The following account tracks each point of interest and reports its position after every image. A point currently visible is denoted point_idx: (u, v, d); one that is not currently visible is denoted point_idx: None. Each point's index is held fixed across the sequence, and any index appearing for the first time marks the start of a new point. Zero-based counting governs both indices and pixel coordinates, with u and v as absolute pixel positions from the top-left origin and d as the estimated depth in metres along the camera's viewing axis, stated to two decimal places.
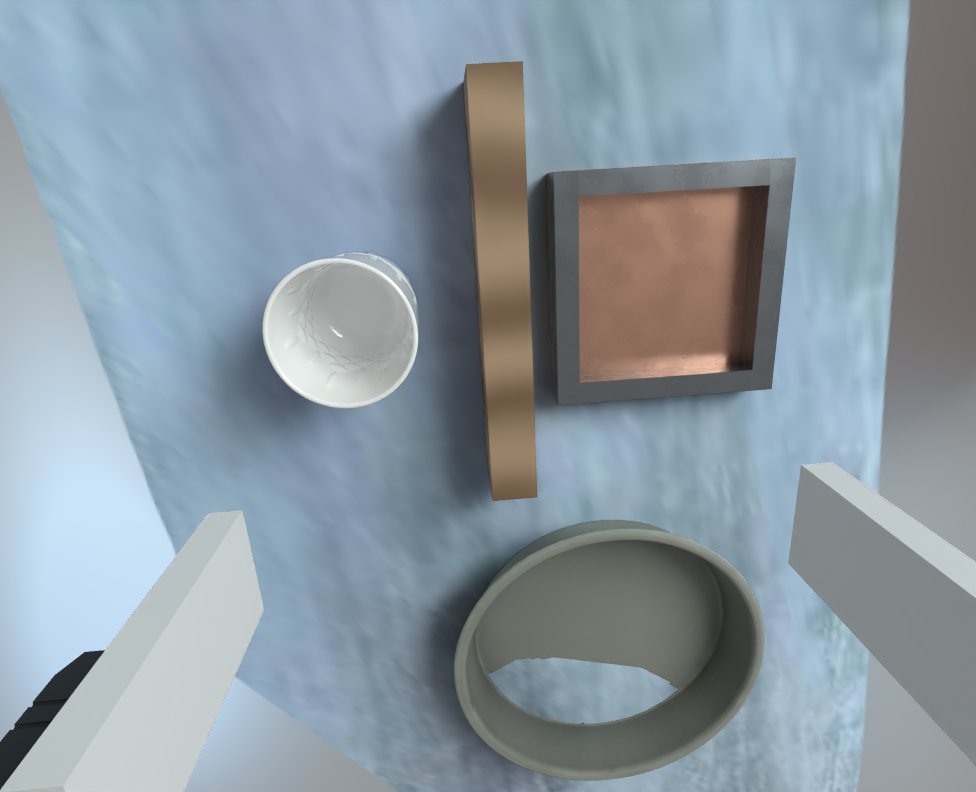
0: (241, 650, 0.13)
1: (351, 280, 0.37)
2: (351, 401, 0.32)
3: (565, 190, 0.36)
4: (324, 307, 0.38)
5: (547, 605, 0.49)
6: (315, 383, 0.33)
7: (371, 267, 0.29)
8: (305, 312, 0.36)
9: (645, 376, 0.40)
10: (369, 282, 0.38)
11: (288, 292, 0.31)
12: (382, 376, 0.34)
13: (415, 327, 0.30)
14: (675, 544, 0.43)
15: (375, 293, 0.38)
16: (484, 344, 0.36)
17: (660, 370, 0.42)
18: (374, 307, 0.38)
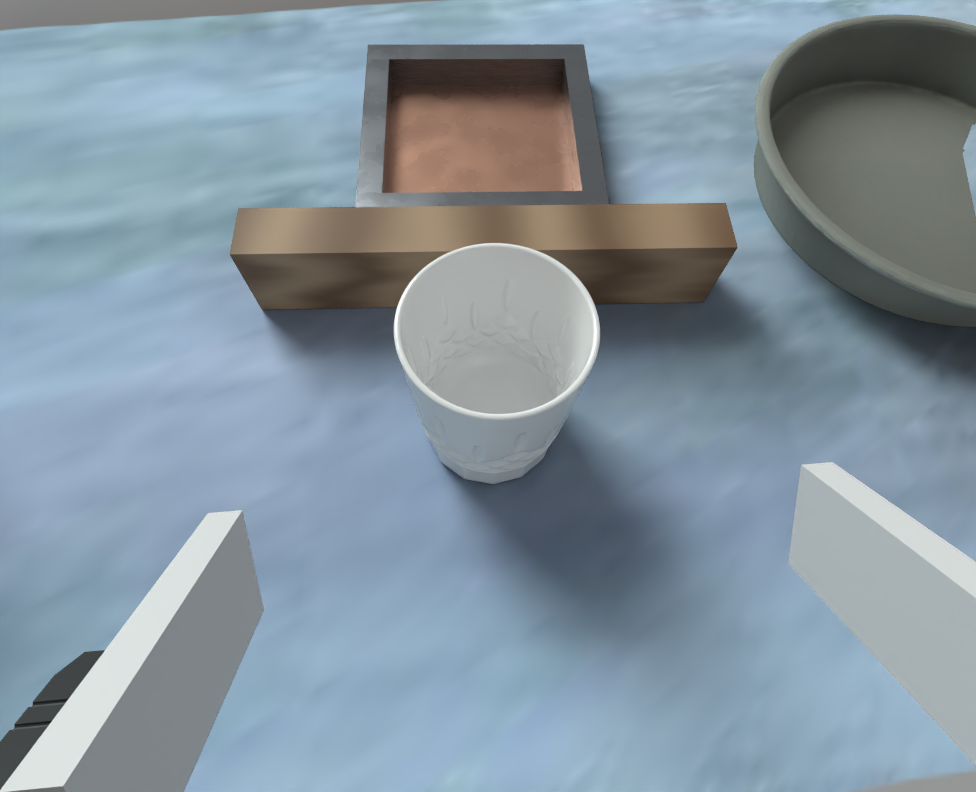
0: (241, 650, 0.13)
1: None
2: (591, 326, 0.23)
3: (374, 203, 0.35)
4: None
5: (892, 243, 0.37)
6: None
7: (409, 283, 0.23)
8: None
9: (574, 139, 0.38)
10: (460, 400, 0.30)
11: None
12: (564, 326, 0.26)
13: (488, 244, 0.24)
14: (769, 89, 0.37)
15: (474, 394, 0.30)
16: None
17: (569, 137, 0.39)
18: (491, 397, 0.30)
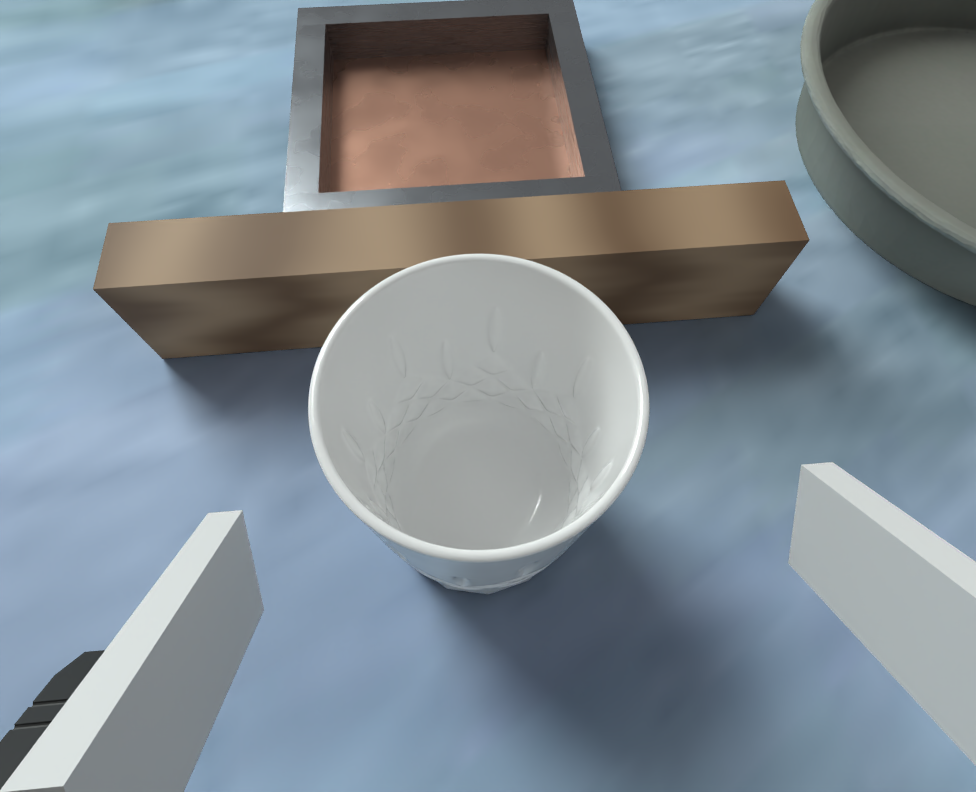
0: (241, 650, 0.13)
1: (431, 507, 0.21)
2: (632, 381, 0.14)
3: (308, 207, 0.26)
4: None
5: None
6: (605, 483, 0.14)
7: (334, 327, 0.14)
8: None
9: (568, 112, 0.29)
10: (435, 476, 0.21)
11: None
12: (582, 373, 0.17)
13: (458, 256, 0.15)
14: (817, 33, 0.29)
15: (454, 467, 0.21)
16: None
17: (561, 111, 0.31)
18: (479, 470, 0.21)
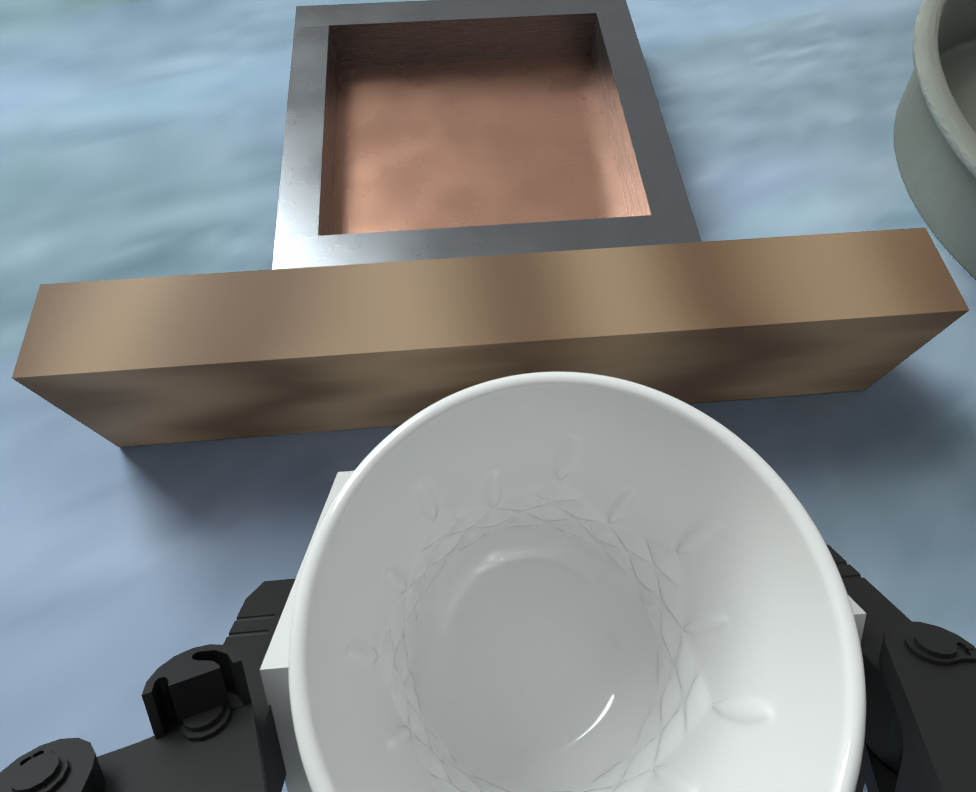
0: None
1: (465, 676, 0.15)
2: (820, 599, 0.09)
3: (305, 255, 0.20)
4: (535, 756, 0.14)
5: None
6: (770, 759, 0.09)
7: (334, 501, 0.09)
8: None
9: (625, 133, 0.24)
10: (470, 629, 0.16)
11: None
12: (701, 535, 0.11)
13: (528, 376, 0.10)
14: (934, 37, 0.23)
15: (496, 615, 0.16)
16: (587, 334, 0.16)
17: (613, 131, 0.25)
18: (529, 620, 0.16)
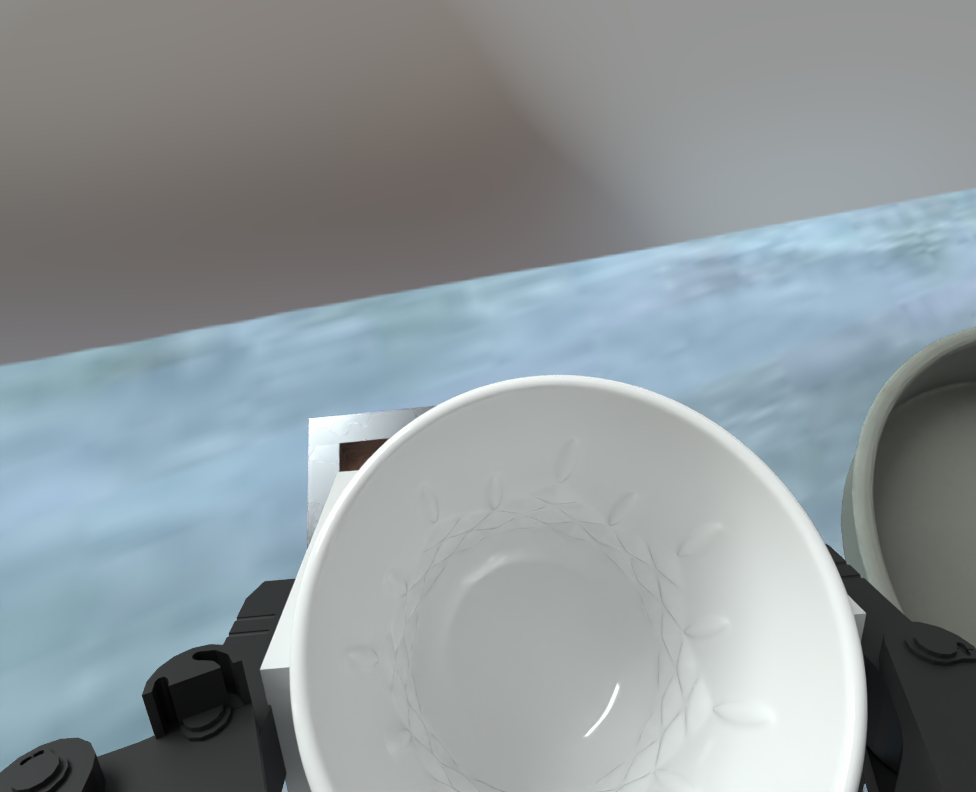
0: None
1: (466, 678, 0.15)
2: (821, 603, 0.09)
3: None
4: (536, 758, 0.14)
5: None
6: (772, 763, 0.09)
7: (335, 505, 0.09)
8: None
9: None
10: (471, 632, 0.16)
11: None
12: (702, 538, 0.11)
13: (529, 380, 0.10)
14: (870, 485, 0.27)
15: (497, 618, 0.16)
16: None
17: None
18: (529, 622, 0.16)
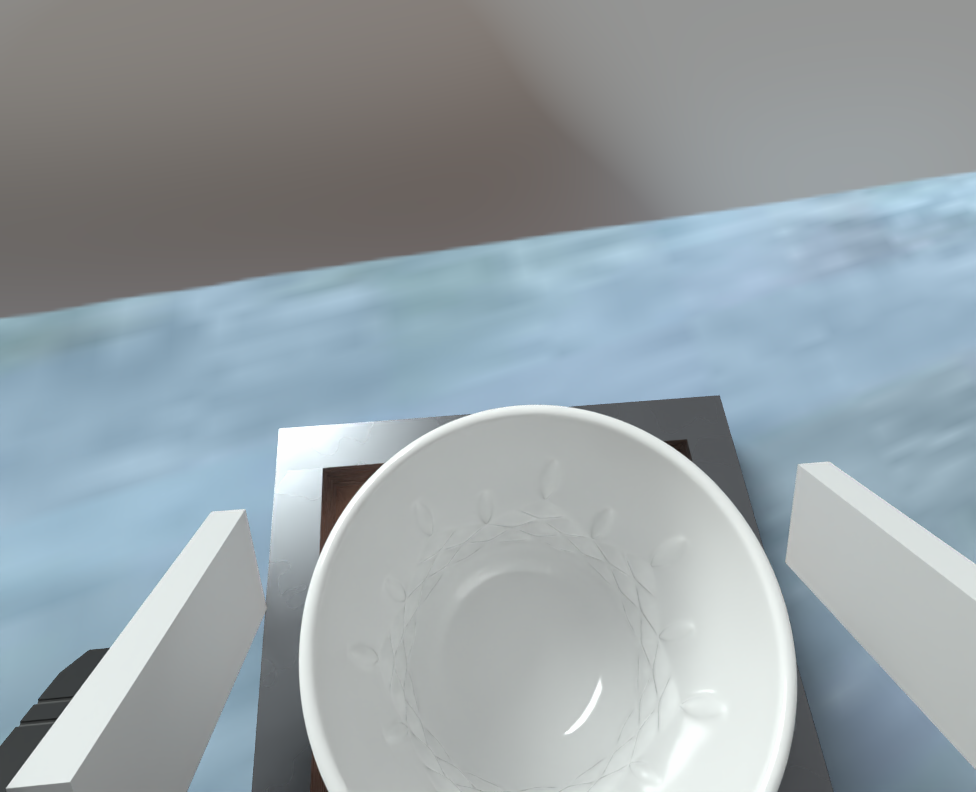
0: (244, 648, 0.13)
1: (461, 680, 0.16)
2: (761, 607, 0.10)
3: None
4: (524, 755, 0.15)
5: None
6: (721, 749, 0.10)
7: (339, 520, 0.10)
8: None
9: None
10: (465, 637, 0.17)
11: None
12: (669, 550, 0.13)
13: (509, 409, 0.11)
14: None
15: (490, 624, 0.17)
16: None
17: None
18: (520, 628, 0.17)
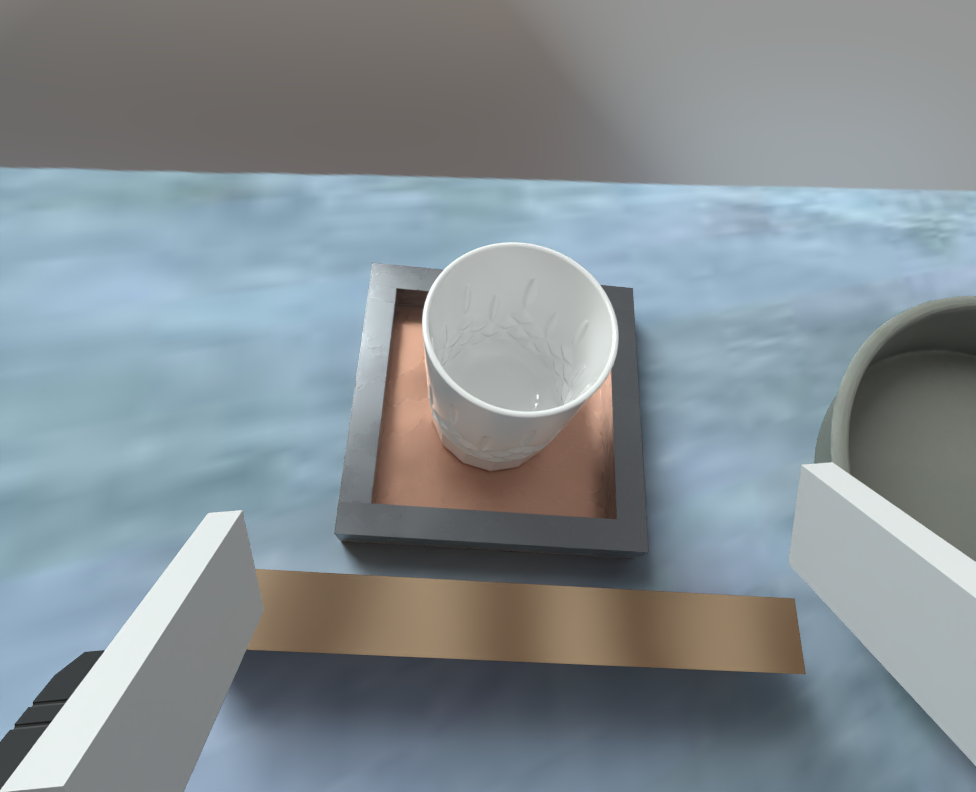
0: (241, 650, 0.13)
1: None
2: (610, 336, 0.24)
3: (359, 520, 0.28)
4: None
5: None
6: None
7: (441, 273, 0.24)
8: None
9: (611, 432, 0.31)
10: (467, 386, 0.31)
11: None
12: (580, 330, 0.27)
13: (520, 243, 0.25)
14: (850, 402, 0.31)
15: (481, 383, 0.31)
16: (551, 661, 0.24)
17: (604, 413, 0.33)
18: (497, 388, 0.31)
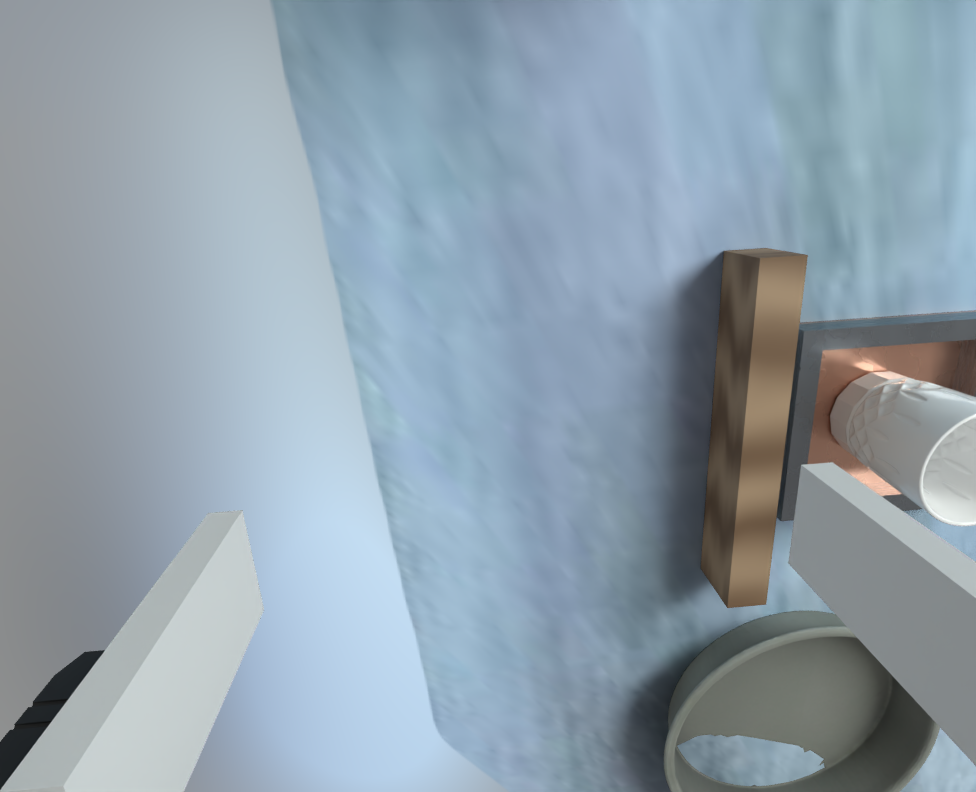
0: (241, 650, 0.13)
1: None
2: (965, 520, 0.37)
3: (811, 345, 0.41)
4: None
5: (736, 684, 0.54)
6: None
7: None
8: None
9: None
10: None
11: None
12: (959, 492, 0.39)
13: None
14: None
15: None
16: (740, 480, 0.41)
17: None
18: None
